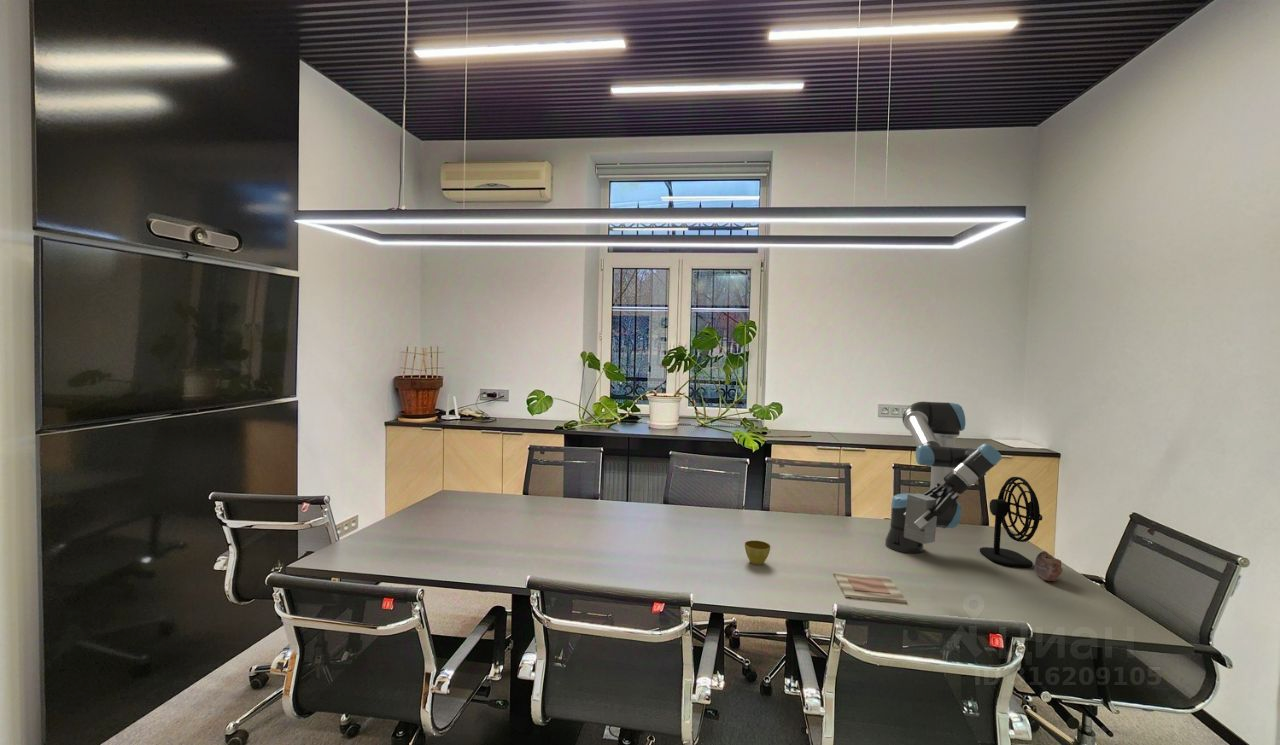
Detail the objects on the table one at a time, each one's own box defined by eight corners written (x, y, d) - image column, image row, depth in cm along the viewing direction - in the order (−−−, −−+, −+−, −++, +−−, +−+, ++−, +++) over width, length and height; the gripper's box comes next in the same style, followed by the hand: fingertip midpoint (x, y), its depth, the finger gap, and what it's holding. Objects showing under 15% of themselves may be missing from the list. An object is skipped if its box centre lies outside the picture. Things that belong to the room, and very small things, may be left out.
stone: (1031, 572, 220) (1033, 547, 220) (1056, 574, 218) (1057, 549, 218) (1046, 584, 208) (1048, 558, 208) (1072, 587, 206) (1074, 561, 206)
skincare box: (903, 537, 200) (904, 494, 200) (916, 534, 203) (917, 492, 203) (924, 544, 193) (925, 499, 192) (937, 542, 196) (939, 497, 195)
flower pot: (770, 568, 214) (771, 550, 214) (743, 565, 216) (744, 547, 216) (769, 559, 224) (770, 541, 224) (744, 556, 226) (744, 539, 226)
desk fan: (1050, 573, 219) (1055, 486, 218) (1002, 570, 221) (1007, 483, 220) (1012, 550, 246) (1017, 471, 245) (970, 546, 248) (974, 469, 247)
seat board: (833, 574, 210) (833, 571, 210) (888, 579, 207) (888, 576, 207) (845, 597, 190) (845, 593, 190) (906, 603, 187) (906, 599, 187)
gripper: (983, 494, 184) (931, 539, 187) (953, 480, 207) (908, 519, 209) (966, 478, 185) (915, 522, 187) (939, 465, 207) (893, 505, 210)
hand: (911, 521), depth 198 cm, fingers closed on skincare box, 10 cm apart
